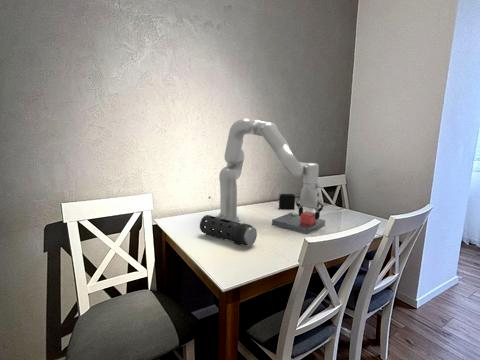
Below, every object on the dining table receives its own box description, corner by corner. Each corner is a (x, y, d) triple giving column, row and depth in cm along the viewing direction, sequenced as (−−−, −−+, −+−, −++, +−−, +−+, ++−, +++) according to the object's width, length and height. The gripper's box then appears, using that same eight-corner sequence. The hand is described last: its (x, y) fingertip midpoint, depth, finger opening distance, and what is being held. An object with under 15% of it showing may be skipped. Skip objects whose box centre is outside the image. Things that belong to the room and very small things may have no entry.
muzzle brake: (212, 232, 150) (212, 212, 148) (257, 245, 134) (258, 223, 132) (199, 237, 143) (199, 216, 141) (245, 251, 126) (245, 228, 124)
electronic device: (294, 209, 195) (295, 195, 193) (279, 209, 195) (280, 194, 193) (293, 208, 199) (294, 193, 197) (278, 207, 199) (279, 193, 197)
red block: (310, 224, 154) (311, 215, 153) (300, 222, 158) (300, 213, 157) (316, 222, 159) (316, 213, 158) (306, 219, 163) (306, 211, 162)
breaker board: (307, 234, 148) (307, 226, 147) (271, 224, 163) (272, 217, 162) (325, 225, 163) (325, 218, 162) (291, 217, 177) (291, 210, 177)
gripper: (328, 187, 152) (326, 219, 155) (299, 183, 163) (298, 212, 166) (322, 189, 147) (320, 222, 149) (292, 185, 158) (291, 215, 161)
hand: (308, 217), depth 158 cm, fingers open, 9 cm apart
